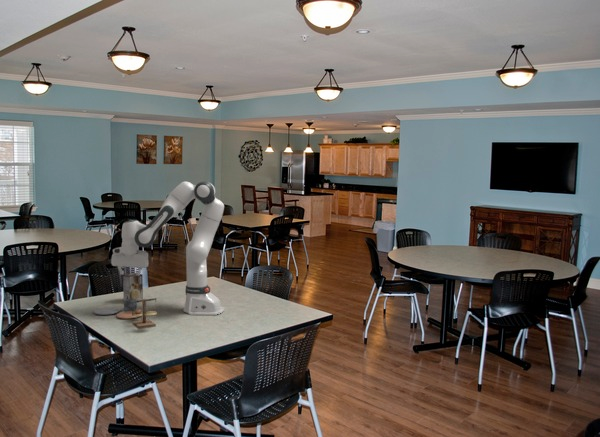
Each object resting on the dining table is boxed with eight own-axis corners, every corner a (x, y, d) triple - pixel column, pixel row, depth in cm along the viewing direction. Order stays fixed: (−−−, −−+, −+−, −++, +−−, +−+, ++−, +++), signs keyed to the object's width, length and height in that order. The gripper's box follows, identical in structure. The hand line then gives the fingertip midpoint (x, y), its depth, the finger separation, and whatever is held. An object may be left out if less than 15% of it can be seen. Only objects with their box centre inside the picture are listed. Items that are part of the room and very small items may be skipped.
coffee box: (136, 299, 310) (136, 272, 308) (143, 301, 306) (143, 274, 304) (123, 302, 302) (123, 274, 301) (129, 304, 298) (129, 276, 297)
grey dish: (123, 310, 285) (123, 308, 285) (112, 316, 272) (112, 314, 272) (101, 308, 287) (101, 306, 287) (89, 314, 274) (88, 312, 274)
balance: (160, 329, 252) (160, 298, 251) (144, 332, 248) (144, 301, 246) (143, 318, 271) (143, 289, 269) (128, 320, 266) (128, 291, 264)
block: (136, 309, 287) (136, 298, 287) (132, 311, 283) (132, 301, 282) (128, 309, 288) (128, 298, 288) (123, 311, 283) (123, 300, 283)
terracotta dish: (146, 313, 279) (146, 311, 279) (135, 320, 267) (135, 318, 266) (123, 312, 281) (123, 310, 281) (111, 318, 268) (111, 316, 268)
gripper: (150, 250, 284) (150, 275, 285) (115, 248, 287) (115, 272, 288) (145, 251, 278) (145, 277, 279) (109, 249, 281) (109, 274, 282)
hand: (129, 274), depth 284 cm, fingers open, 8 cm apart
